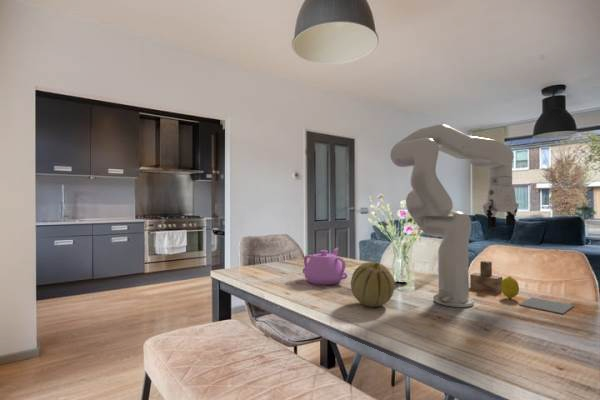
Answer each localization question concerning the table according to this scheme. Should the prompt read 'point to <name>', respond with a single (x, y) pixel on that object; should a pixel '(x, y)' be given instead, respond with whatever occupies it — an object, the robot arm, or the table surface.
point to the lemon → (509, 287)
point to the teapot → (324, 268)
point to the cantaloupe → (372, 284)
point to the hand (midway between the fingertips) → (501, 226)
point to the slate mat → (547, 305)
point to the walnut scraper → (486, 279)
